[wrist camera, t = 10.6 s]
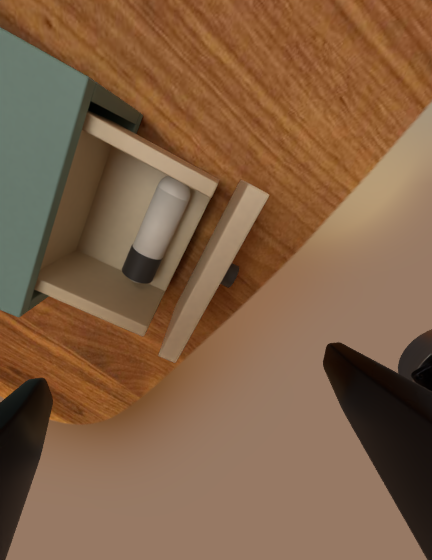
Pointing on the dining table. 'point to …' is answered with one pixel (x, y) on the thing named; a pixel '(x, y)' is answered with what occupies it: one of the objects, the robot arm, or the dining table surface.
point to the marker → (156, 230)
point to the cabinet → (39, 156)
